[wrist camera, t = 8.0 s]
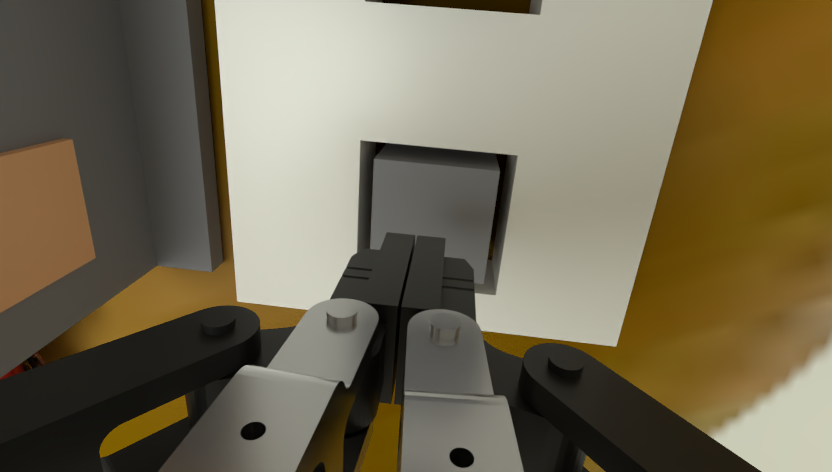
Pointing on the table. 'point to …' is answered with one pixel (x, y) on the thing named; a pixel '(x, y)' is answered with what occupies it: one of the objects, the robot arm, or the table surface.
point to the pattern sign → (99, 158)
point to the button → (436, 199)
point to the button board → (456, 140)
